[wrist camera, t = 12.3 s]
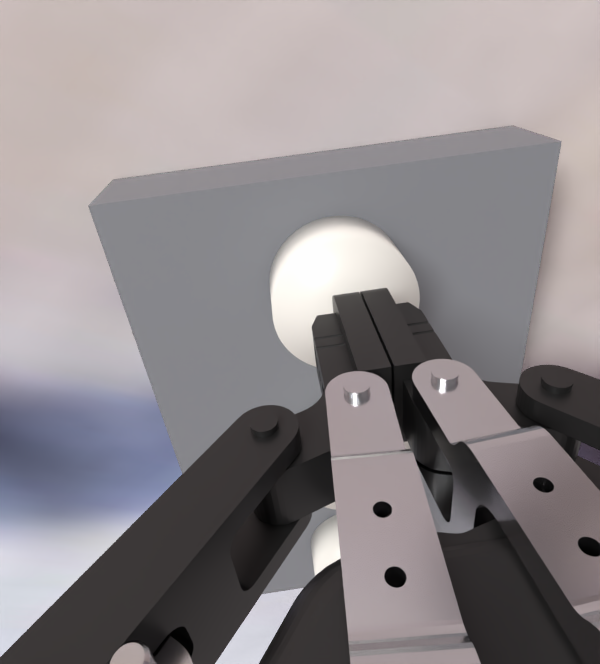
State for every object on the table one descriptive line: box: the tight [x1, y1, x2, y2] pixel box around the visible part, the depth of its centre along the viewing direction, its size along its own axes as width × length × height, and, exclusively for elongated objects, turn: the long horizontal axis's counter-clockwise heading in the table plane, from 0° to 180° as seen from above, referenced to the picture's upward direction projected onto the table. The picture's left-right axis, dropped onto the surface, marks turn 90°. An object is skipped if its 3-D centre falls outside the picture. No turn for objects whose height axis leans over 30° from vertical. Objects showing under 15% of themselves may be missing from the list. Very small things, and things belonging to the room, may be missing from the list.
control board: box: [88, 126, 561, 594], centre depth 21 cm, size 21×14×3 cm, turn 6°
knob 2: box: [269, 216, 420, 367], centre depth 16 cm, size 4×4×5 cm
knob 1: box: [311, 515, 341, 575], centre depth 24 cm, size 4×4×5 cm
